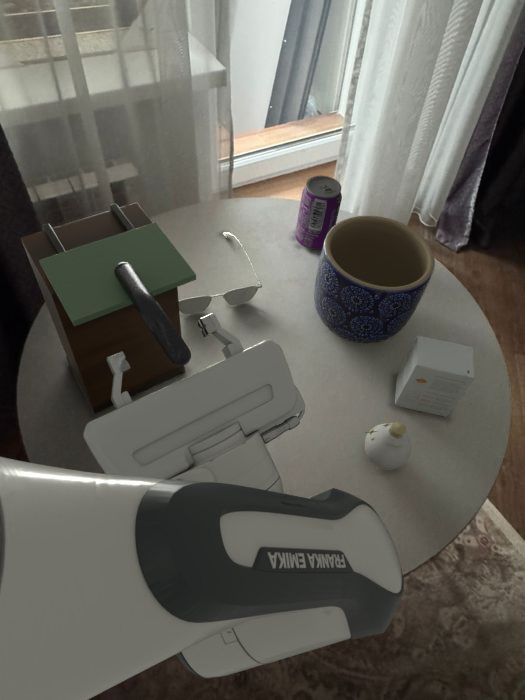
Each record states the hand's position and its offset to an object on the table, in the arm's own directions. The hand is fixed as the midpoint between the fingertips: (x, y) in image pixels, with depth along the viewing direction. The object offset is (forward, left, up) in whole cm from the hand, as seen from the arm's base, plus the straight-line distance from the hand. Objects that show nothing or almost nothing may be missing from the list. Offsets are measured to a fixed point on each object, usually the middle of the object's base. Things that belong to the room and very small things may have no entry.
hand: (161, 335), depth 48 cm
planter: (+38, -5, -26) cm, 46 cm away
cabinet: (+5, +15, -25) cm, 30 cm away
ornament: (+18, -21, -26) cm, 38 cm away
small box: (+31, -21, -26) cm, 45 cm away
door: (+2, +5, -1) cm, 5 cm away
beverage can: (+49, +12, -26) cm, 56 cm away
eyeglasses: (+28, +21, -26) cm, 43 cm away
